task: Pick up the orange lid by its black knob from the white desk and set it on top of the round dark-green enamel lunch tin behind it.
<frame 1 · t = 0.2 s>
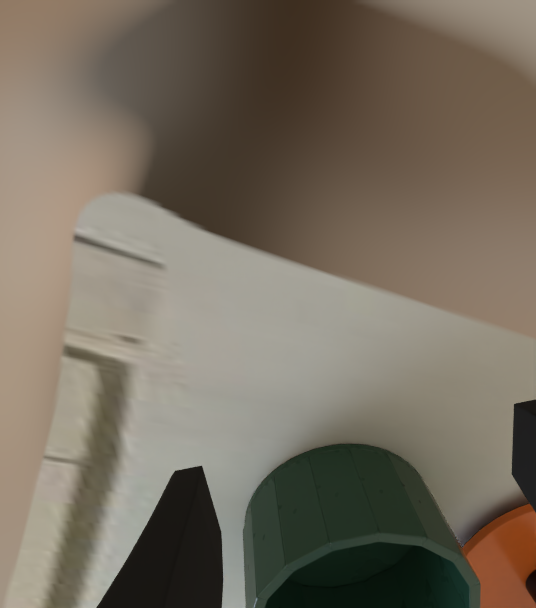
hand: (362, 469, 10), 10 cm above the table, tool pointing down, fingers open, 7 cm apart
tin: (337, 519, 24), on the table
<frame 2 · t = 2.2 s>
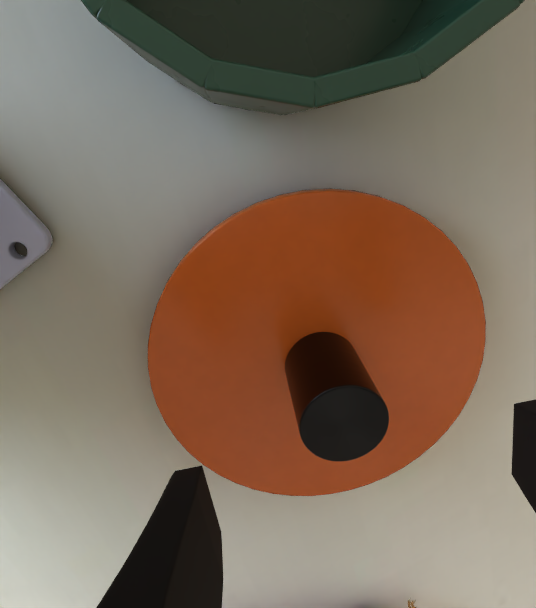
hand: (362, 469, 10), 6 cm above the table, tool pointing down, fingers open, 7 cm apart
lid: (318, 357, 15), point 1 cm above the table
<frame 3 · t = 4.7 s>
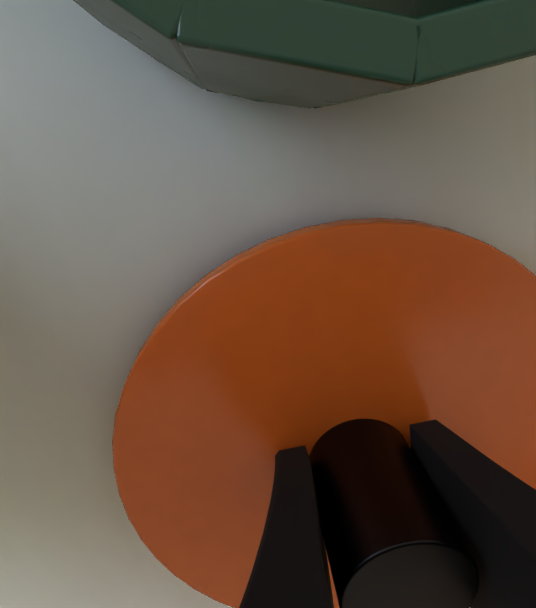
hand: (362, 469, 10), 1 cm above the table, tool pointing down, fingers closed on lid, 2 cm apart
lid: (352, 446, 11), point 1 cm above the table, touching gripper
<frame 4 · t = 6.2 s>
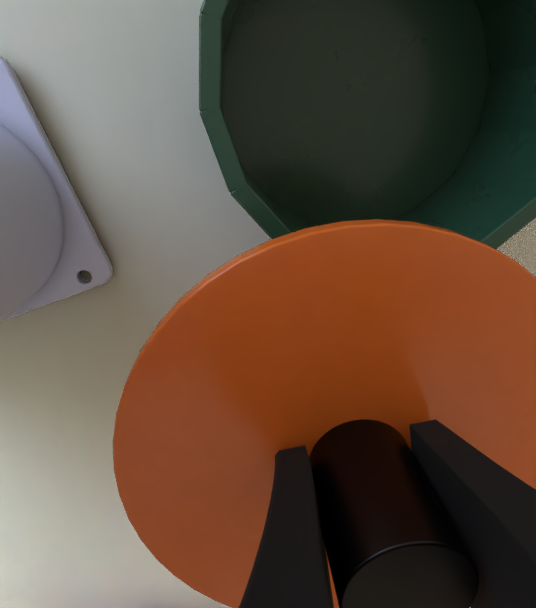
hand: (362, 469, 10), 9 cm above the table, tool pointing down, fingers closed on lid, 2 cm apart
tin: (354, 94, 16), on the table
lid: (352, 447, 11), point 8 cm above the table, touching gripper
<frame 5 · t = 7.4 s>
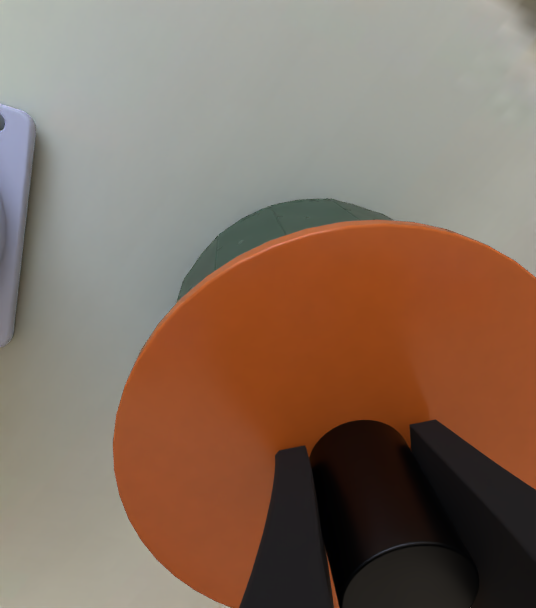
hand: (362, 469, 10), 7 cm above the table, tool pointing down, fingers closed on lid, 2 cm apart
tin: (308, 332, 17), on the table
lid: (352, 447, 11), point 7 cm above the table, touching gripper
when the fingers open (6 cm above the table, at t = 8.0 s): lid stays where it is, resting on tin.
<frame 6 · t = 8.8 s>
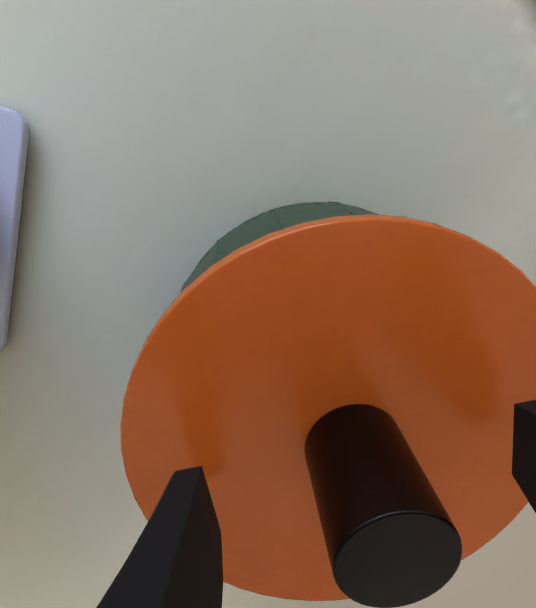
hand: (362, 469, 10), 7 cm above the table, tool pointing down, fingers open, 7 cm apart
tin: (312, 339, 17), on the table
lid: (347, 431, 12), point 5 cm above the table, touching tin
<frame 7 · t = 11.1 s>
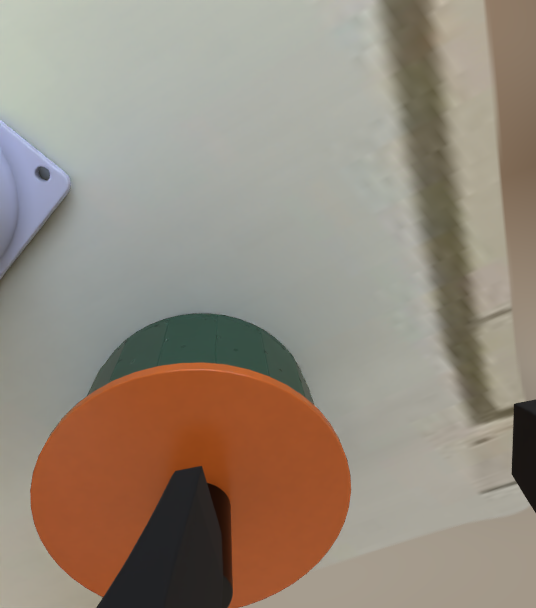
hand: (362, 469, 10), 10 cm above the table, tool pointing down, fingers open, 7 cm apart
tin: (203, 410, 22), on the table
lid: (197, 497, 17), point 5 cm above the table, touching tin
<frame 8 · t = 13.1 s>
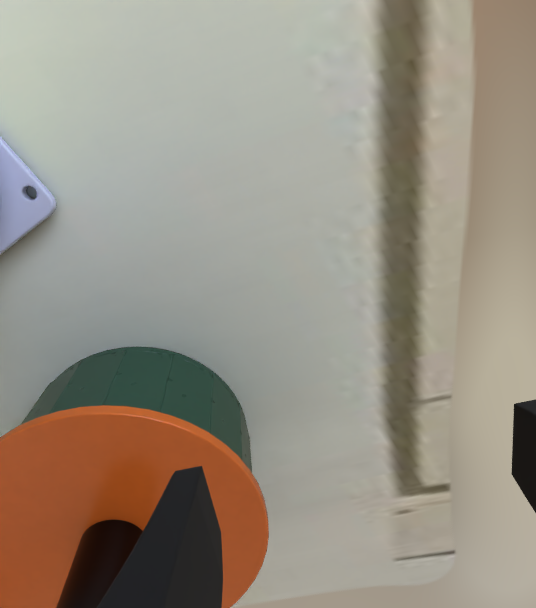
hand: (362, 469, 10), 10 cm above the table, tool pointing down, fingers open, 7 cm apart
tin: (143, 439, 22), on the table
lid: (118, 532, 17), point 5 cm above the table, touching tin
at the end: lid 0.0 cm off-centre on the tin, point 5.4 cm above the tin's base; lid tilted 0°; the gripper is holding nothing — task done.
